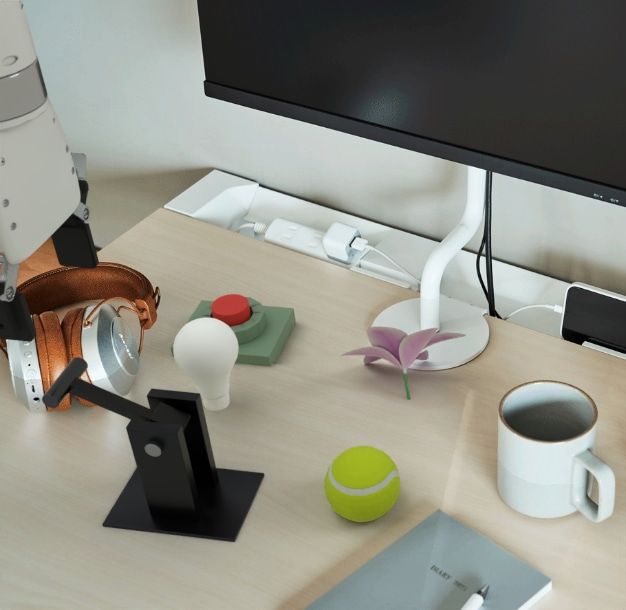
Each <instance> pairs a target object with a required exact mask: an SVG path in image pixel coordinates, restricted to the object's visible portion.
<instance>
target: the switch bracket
mask: <svg viewBox="0 0 626 610" xmlns="http://www.w3.org/2000/svg"><path fill="white" fill-rule="evenodd" d="M146 399H147V403H148V406H149V407H148V408H149V409H152V410H154V411H155V410H156V408H157V407H158V405H159V404H160V402H162V403H165V404H167V405H169V406H172V407H174V408H176V409H179V410H181V411H183V412H186V413H188V414H190V415H191V418H190V420H189V423H188V425H187V428H186V430H185V433H183V429H182V425H176V424H167V423H157V422H148V421H138V420H131V419H129V422H128V423H127V425H126V427H125V430H126V434H127V437H128V440H129V444H130V448H131V452H132V455H133V458H134V462H135V465H136V468H135V469H134V471H133V472H132V473H131V476H130V478H129V479H128V481H127V482H126V484H125V485H124V487H123V489H122V491H121V492H120V494H119V496H118V497H117V499H116V501H115V502H114V503H113V506H112V507H111V508H110V511H109V512H108V514H107V515H106V518H105V519H104V520H103V522H102V524H101V525H102V527H103V528H111V529H119V530H128V531H135V532H145V533H154V534H161V535H171V536H179V537H187V538H197V539H204V540H211V541H212V540H213V541H221V542H229V543H236V541H237V538H238V536H239V533H240V531H241V529H242V527H243V524H244V523H245V520H246V518H247V515H248V514H249V511H250V509H251V507H252V504H253V503H254V500H255V498H256V495H257V494H258V491H259V488H260V487H261V485H262V482H263V480H264V477H265V473H264V472H259V471H258V472H257V471H251V470H249V471H248V470H242V469H241V470H240V469H230V468H221V467H217V466H216V461H215V456H214V451H213V447H212V441H211V437H210V432H209V428H208V423H207V419H206V418H207V417H206V413H205V409H204V404H203V399H202V396H201V395H200V393H199V392H190V391H181V390H171V389H162V388H150V389H149V391H148V393H147V394H146Z"/></svg>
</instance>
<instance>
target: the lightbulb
mask: <svg viewBox="0 0 626 610" xmlns="http://www.w3.org/2000/svg"><path fill="white" fill-rule="evenodd" d="M186 323H187V322H186ZM186 323H185V324H184V325H183V326H182V327H181V328H180V329H179V330H178V332H177V333H176V335H175V338H174V341H173V343H174V347H173V354H174V357H173V358H174V361H175V362H176V364H177V366H178V368H179V370H181V371H182V372H183V374H185V375H186V376H188V377H189V378H190V379H191V380H192V381H193V383H194V385H195V387H196V389H197V393H200V395H201V400H202V404H203V406H204V407H205V409H206V410H208V411H210V412H219V411H224V410H225V409H226V408H228V406H229V405H230V401H231V400H230V389H231V383H230V382H231V381H230V377H231V371H232V369H233V368H234V366H235V364H236V363H235V361H236V359H237V356H238V349H239V347H238V340H237V338H236V336H235V333H234V332H233V330H232V329H231V328H230V327H229V326H228V325H227V324H225V323H224V322H222V321H220V320H218V319H214V318H199V319H195V320H193V321H191V322H189V323H187V324H186Z"/></svg>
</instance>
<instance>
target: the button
mask: <svg viewBox="0 0 626 610" xmlns="http://www.w3.org/2000/svg"><path fill="white" fill-rule="evenodd" d="M246 297H247V296H244V295H242V294H238V293H229V294H228V293H227V294H225V295H222V296H219V297H217V298H216V299H214V300H213V301H214V302H213V303H212V305H211V309H212V314H213V318H214V319H218V320H220V321H222V322H224V323H225V324H227V325H228V326H229V327H232V326H236V325H241V324H243V323H245V322H246V321H248V320H249V318H250V316H251V313H250V307H249V301H248V299H247V298H246Z"/></svg>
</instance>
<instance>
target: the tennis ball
mask: <svg viewBox="0 0 626 610" xmlns="http://www.w3.org/2000/svg"><path fill="white" fill-rule="evenodd" d="M400 490H401V479H400V471H399V469H398V467H397V465H396V463H395V462H394V460H393V459H392V457H391V456H390V455H388V453H386V452H384V450H382V449H379V448H377V447H375V446H371V445H357V446H353V447H350V448H348V449H347V448H346V449H345V450H343V451H342V452H340V453H339V454H338V455H337V456H336V457H335V458H334V459H333V460H332V462H331V463H330V464H329V466H328V468H327V471H326V474H325V477H324V492H325V497H326V499H327V502H328V504H329V505H330V507H331V509H332V510H333V511H334V512H335V513H336V514H338V515H339V516H340V517H342V518H344V519H346V520H348V521H350V522H355V523H368V522H372V521H375V520H378V519H379V518H381V517H383V516H385V514H387V513H388V512H389V511H390V510H391V509H392V508H393V506H394V505H395V504H396V502H397V501H398V497H399V495H400Z"/></svg>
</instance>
